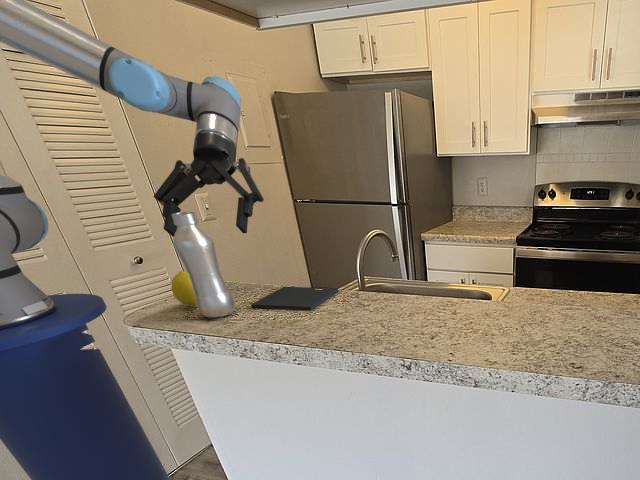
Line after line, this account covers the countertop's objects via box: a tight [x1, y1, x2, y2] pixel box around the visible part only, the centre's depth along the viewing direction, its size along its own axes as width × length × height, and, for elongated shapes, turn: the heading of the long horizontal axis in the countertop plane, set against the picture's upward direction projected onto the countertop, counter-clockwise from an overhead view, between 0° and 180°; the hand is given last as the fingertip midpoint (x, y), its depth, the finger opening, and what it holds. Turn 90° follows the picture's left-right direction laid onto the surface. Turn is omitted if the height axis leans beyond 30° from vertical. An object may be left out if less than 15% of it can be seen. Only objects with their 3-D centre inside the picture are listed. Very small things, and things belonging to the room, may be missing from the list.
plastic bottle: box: [172, 211, 236, 319], centre depth 78 cm, size 6×7×20 cm
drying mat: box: [250, 286, 339, 311], centre depth 90 cm, size 14×12×1 cm
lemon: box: [170, 270, 198, 308], centre depth 86 cm, size 6×6×8 cm
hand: (206, 231), depth 80 cm, fingers open, 13 cm apart
